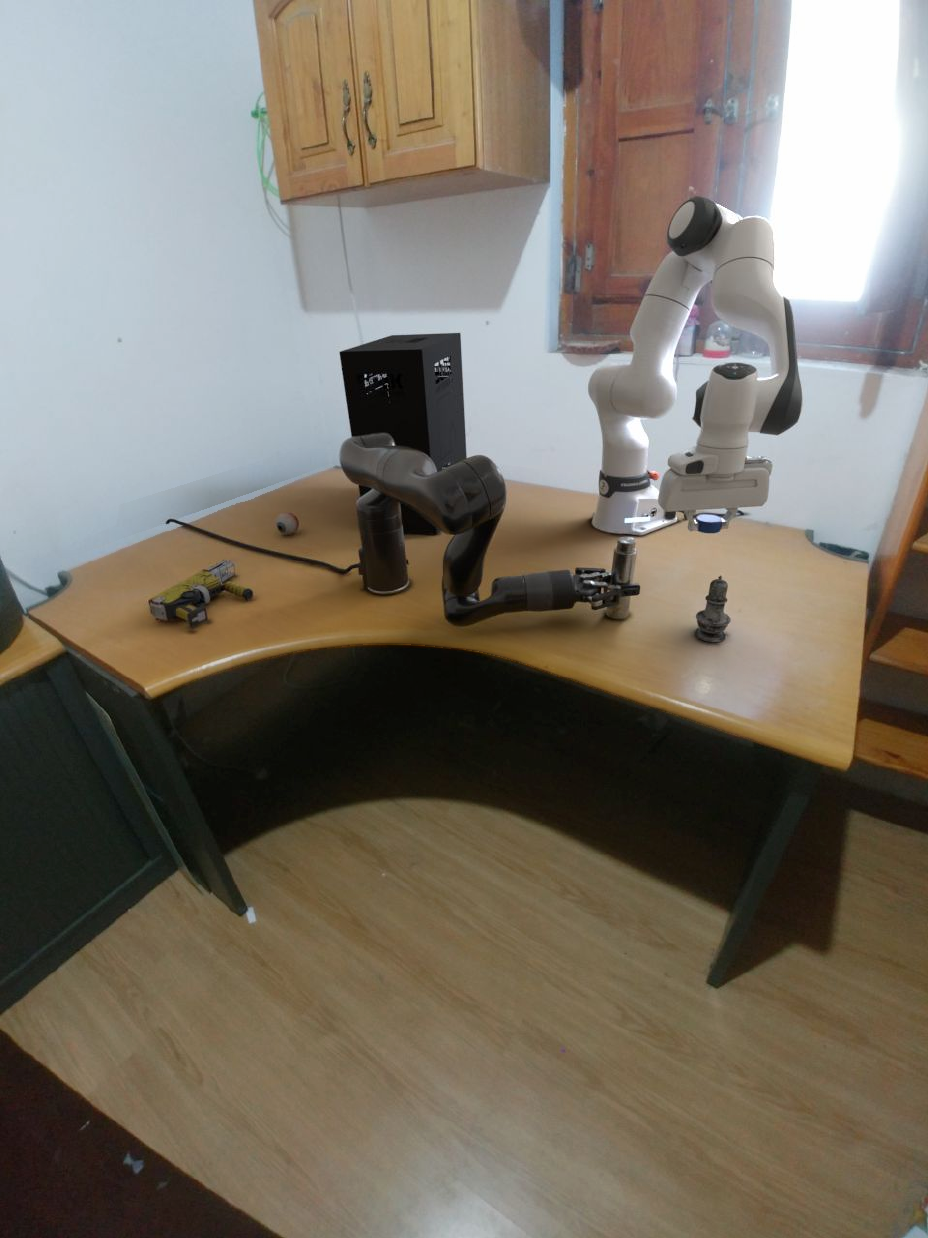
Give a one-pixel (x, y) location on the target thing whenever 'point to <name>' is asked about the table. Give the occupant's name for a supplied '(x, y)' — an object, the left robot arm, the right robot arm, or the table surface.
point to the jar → (622, 574)
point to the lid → (709, 523)
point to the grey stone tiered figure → (713, 613)
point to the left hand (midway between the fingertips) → (634, 583)
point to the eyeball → (287, 523)
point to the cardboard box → (409, 400)
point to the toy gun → (196, 595)
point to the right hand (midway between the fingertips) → (707, 529)
